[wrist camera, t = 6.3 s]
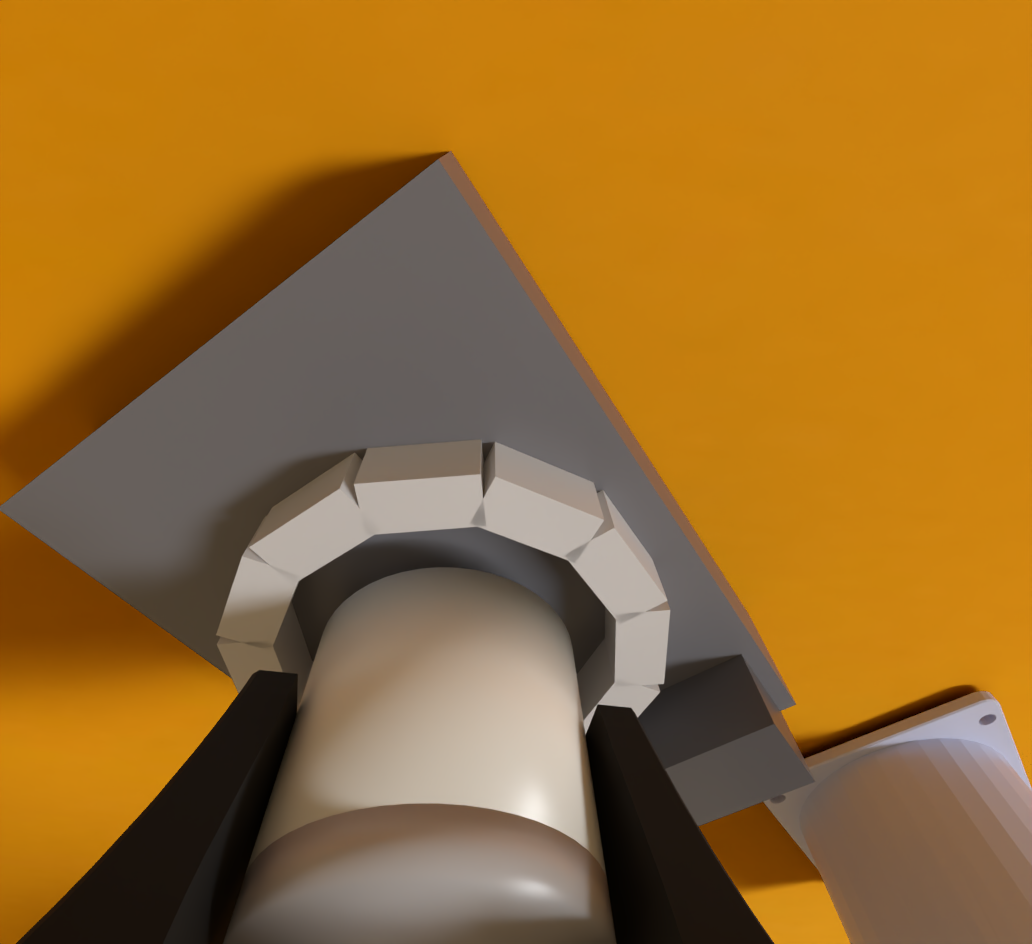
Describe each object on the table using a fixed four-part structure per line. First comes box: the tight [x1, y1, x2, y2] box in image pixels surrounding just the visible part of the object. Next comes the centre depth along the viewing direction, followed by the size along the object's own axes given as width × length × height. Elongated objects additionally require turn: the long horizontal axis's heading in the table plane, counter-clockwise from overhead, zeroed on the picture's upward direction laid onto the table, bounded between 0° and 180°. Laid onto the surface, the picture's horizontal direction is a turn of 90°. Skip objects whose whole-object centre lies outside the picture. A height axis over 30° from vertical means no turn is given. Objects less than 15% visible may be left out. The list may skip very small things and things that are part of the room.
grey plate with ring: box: [0, 151, 815, 826], centre depth 13 cm, size 14×10×5 cm
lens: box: [223, 567, 617, 944], centre depth 10 cm, size 5×5×5 cm
